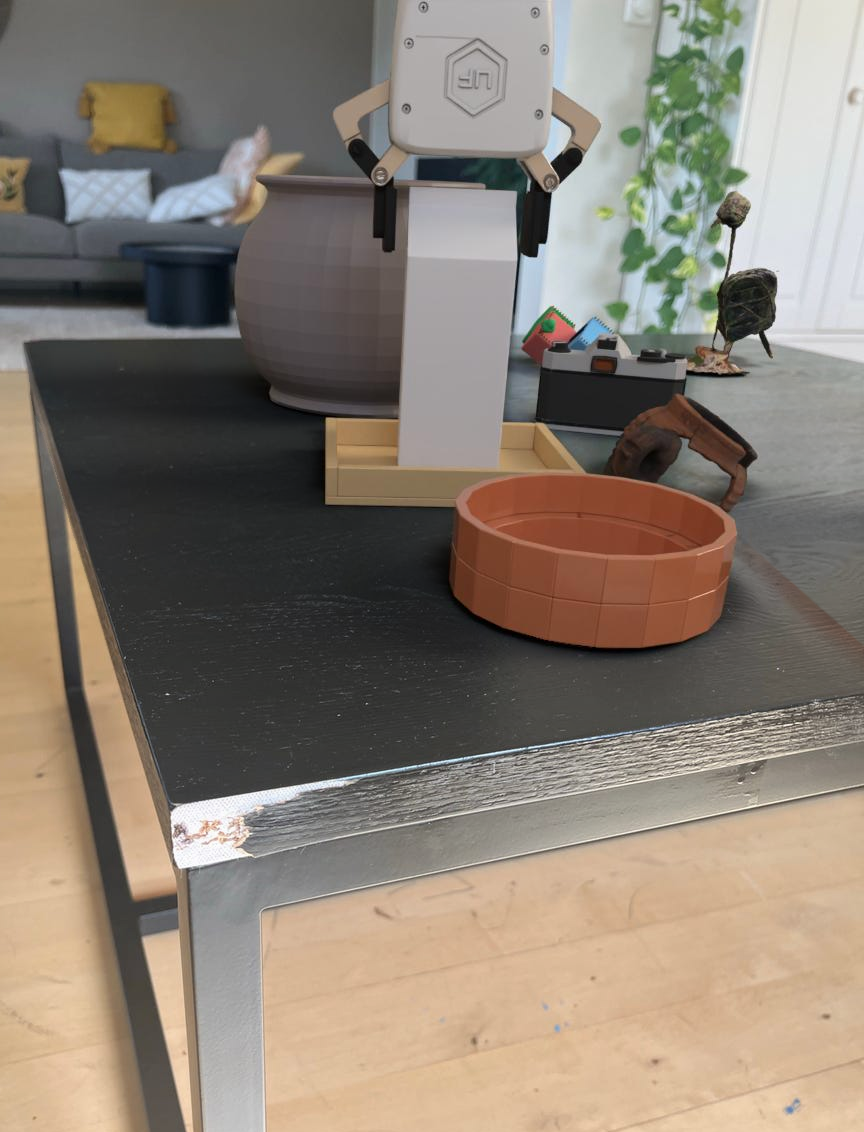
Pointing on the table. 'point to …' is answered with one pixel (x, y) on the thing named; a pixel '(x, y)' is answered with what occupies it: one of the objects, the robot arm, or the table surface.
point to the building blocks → (560, 333)
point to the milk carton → (456, 326)
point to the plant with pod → (738, 300)
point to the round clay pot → (325, 294)
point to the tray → (373, 478)
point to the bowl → (591, 558)
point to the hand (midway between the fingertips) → (458, 253)
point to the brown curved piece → (658, 445)
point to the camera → (605, 385)
